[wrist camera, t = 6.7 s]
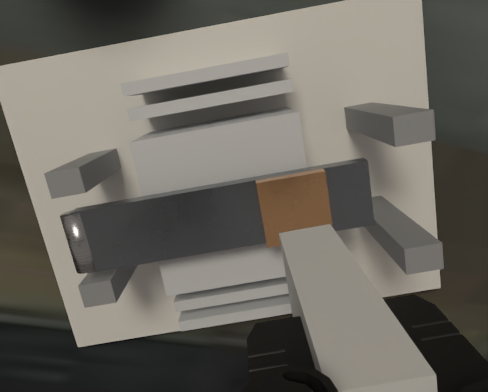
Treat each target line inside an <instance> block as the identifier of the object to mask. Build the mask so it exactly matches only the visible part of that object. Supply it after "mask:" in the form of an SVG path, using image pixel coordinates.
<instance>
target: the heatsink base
mask: <svg viewBox="0 0 488 392" xmlns="http://www.w3.org/2000/svg"><path fill="white" fill-rule="evenodd" d="M0 102H1V105H2V108H3V111H4V114H5V118H6V121H7V124H8V127H9V130H10V133H11V137H12V140H13V143H14V146H15V149H16V153H17V156H18V159H19V162H20V165H21V168H22V172H23V175H24V178H25V181H26V184H27V187H28V191H29V194H30V197H31V200H32V203H33V206H34V210H35V213H36V216H37V219H38V222H39V225H40V229H41V232H42V235H43V238H44V241H45V244H46V248H47V251H48V254H49V257H50V260H51V263H52V267H53V270H54V273H55V276H56V279H57V282H58V286H59V289H60V292H61V295H62V298H63V302H64V305H65V308H66V311H67V314H68V317H69V321H70V324H71V327H72V330H73V333H74V336H75V340H76V343H77V346H78V347H83V346H89V345H95V344H101V343H107V342H113V341H120V340H126V339H132V338H138V337H144V336H150V335H156V334H162V333H168V332H174V331H187V330H193V329H199V328H205V327H211V326H217V325H223V324H229V323H235V322H242V321H248V320H254V319H260V318H266V317H272V316H278V315H284V314H290V313H292V310H291V304H290V298H289V292H288V286H287V280H286V274H285V267H284V261H283V255H282V249H281V246H275V247H269V248H267V243H264V244H258V245H252V246H246V247H240V248H234V249H228V250H223V251H217V252H211V253H205V254H199V255H193V256H187V257H181V258H175V259H169V260H164V261H158V262H152V263H146V264H140V265H134V266H128V267H122V268H116V269H111V270H105V271H99V272H93V273H84V274H79V273H77V272H76V268H75V265H74V262H73V258H72V255H71V252H70V248H69V245H68V242H67V238H66V235H65V232H64V229H63V225H62V222H61V219H60V215H61V214H63V213H65V212H68V211H71V210H74V209H76V208H79V207H85V206H91V205H96V204H102V203H108V202H113V201H119V200H125V199H130V198H136V197H142V196H148V195H153V194H159V193H165V192H170V191H176V190H182V189H187V188H193V187H199V186H204V185H210V184H216V183H222V182H227V181H233V180H239V179H244V178H250V177H256V176H261V175H267V174H273V173H279V172H284V171H290V170H296V169H301V168H307V167H313V166H318V165H324V164H330V163H335V162H341V161H347V160H353V159H358V158H364V159H366V160H368V166H369V176H370V185H371V195H372V204H373V214H374V223H375V225H370V226H364V227H358V228H352V229H346V230H341V231H336V233H337V234H338V236H339V237H340V239H341V240H342V241H343V243H344V244H345V246H346V247H347V249H348V250H349V251H350V253H351V254H352V256H353V257H354V258H355V260H356V261H357V263H358V264H359V266H360V267H361V268H362V270H363V271H364V273H365V274H366V276H367V277H368V278H369V280H370V281H371V283H372V284H373V286H374V287H375V288H376V290H377V291H378V293H379V294H380V295H381V297H388V296H394V295H400V294H406V293H413V292H419V291H425V290H431V289H437V288H441V284H440V269H444V265H443V249H442V242H440V241H439V240H438V239H437V224H436V209H435V194H434V179H433V164H432V149H431V141H434V140H436V139H435V123H434V110H431V109H429V103H428V88H427V73H426V58H425V43H424V28H423V13H422V0H346V1H341V2H335V3H330V4H325V5H319V6H314V7H309V8H304V9H298V10H293V11H288V12H283V13H277V14H272V15H267V16H261V17H256V18H251V19H246V20H240V21H235V22H230V23H224V24H219V25H214V26H209V27H203V28H198V29H193V30H187V31H182V32H177V33H172V34H166V35H161V36H156V37H151V38H145V39H140V40H135V41H129V42H124V43H119V44H114V45H108V46H103V47H98V48H92V49H87V50H82V51H77V52H71V53H66V54H61V55H55V56H50V57H45V58H40V59H34V60H29V61H24V62H19V63H13V64H8V65H3V66H0Z"/></svg>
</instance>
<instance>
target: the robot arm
mask: <svg viewBox="0 0 488 392" xmlns="http://www.w3.org/2000/svg"><path fill="white" fill-rule="evenodd" d="M279 237H280V243H281V249H282V255H283V261H284V267H285V274H286V280H287V286H288V292H289V298H290V304H291V310H292V316H293V317H291V318H285V319H279V320H274V321H268V322H262V323H256V324H255V326H254V327H253V329H252V331H251V333H250V335H249V336H248V338H247V345H248V364H249V383H248V385H247V386H246V387H245V388H244V390H243V391H242V392H488V362H487V361H486V360H485V359H484V358H483V357H482V356H481V354H480V353H479V352H478V351H477V350H476V349H475V348H474V347H473V346H472V345H471V344H470V342H469V341H468V340H467V339H466V338H465V337H464V336H463V335H460V333H459V331H458V329H457V328H456V327H455V326H454V325H453V324H452V323H451V322H449V321H448V319H447V318H446V316H445V315H444V314H443V313H442V312H441V311H440V310H439V309H438V308H437V307H436V306H435V305H434V304H432V303H430V302H428V301H426V300H424V299H422V298H420V297H418V296H416V295H409V296H403V297H397V298H392V299H386V300H383V298H382V297H381V295H380V294H379V293H378V291H377V290H376V288H375V287H374V286H373V284H372V283H371V281H370V280H369V278H368V277H367V276H366V274H365V273H364V271H363V270H362V268H361V267H360V266H359V264H358V263H357V261H356V260H355V258H354V257H353V256H352V254H351V253H350V251H349V250H348V249H347V247H346V246H345V244H344V243H343V241H342V240H341V239H340V237H339V236H338V234H337V233H336V231H335V230H334V229H333V227H332V226H331V224H327V225H321V226H316V227H310V228H304V229H299V230H293V231H287V232H282V233H279Z"/></svg>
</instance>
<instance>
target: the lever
mask: <svg viewBox="0 0 488 392" xmlns="http://www.w3.org/2000/svg"><path fill="white" fill-rule="evenodd" d="M60 219H61V222H62V225H63V229H64V232H65V235H66V238H67V242H68V245H69V248H70V252H71V255H72V258H73V262H74V265H75V268H76V272H77V273H79V274H84V273H93V272H99V271H105V270H111V269H116V268H122V267H128V266H134V265H140V264H146V263H152V262H158V261H164V260H169V259H175V258H181V257H187V256H193V255H199V254H205V253H211V252H217V251H223V250H228V249H234V248H240V247H246V246H252V245H258V244H264V243H267V248H269V247H275V246H281V243H280V237H279V233H282V232H287V231H293V230H299V229H304V228H310V227H316V226H321V225H327V224H331V226H332V227H333V229H334V230H335V231H341V230H346V229H352V228H358V227H364V226H370V225H375V223H374V214H373V204H372V195H371V185H370V176H369V166H368V160H366V159H364V158H358V159H353V160H347V161H341V162H335V163H330V164H324V165H318V166H313V167H307V168H301V169H296V170H290V171H284V172H279V173H273V174H267V175H261V176H256V177H250V178H244V179H239V180H233V181H227V182H222V183H216V184H210V185H204V186H199V187H193V188H187V189H182V190H176V191H170V192H165V193H159V194H153V195H148V196H142V197H136V198H130V199H125V200H119V201H113V202H108V203H102V204H96V205H91V206H85V207H79V208H76V209H74V210H71V211H68V212H65V213H63V214H61V215H60Z"/></svg>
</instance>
